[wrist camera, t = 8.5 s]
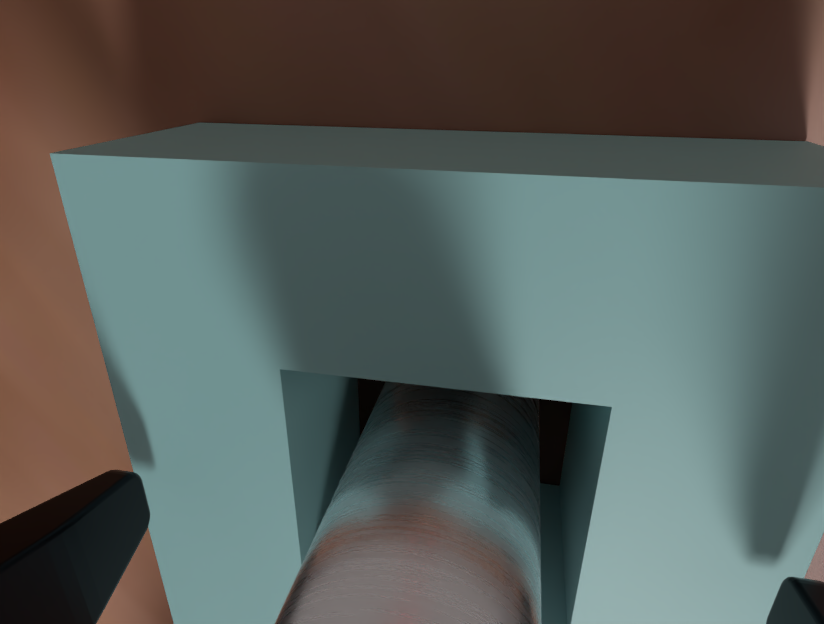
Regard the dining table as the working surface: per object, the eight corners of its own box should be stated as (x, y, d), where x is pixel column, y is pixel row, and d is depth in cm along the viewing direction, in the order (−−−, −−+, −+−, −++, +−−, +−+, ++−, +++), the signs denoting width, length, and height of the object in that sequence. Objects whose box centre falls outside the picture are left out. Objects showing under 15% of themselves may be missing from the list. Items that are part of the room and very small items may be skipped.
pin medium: (546, 328, 10) (572, 913, 3) (530, 455, 12) (525, 1075, 5) (391, 314, 11) (127, 793, 4) (392, 437, 12) (194, 968, 5)
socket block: (808, 141, 8) (971, 193, 5) (671, 598, 13) (716, 778, 9) (199, 122, 10) (49, 153, 7) (260, 529, 14) (183, 661, 11)
